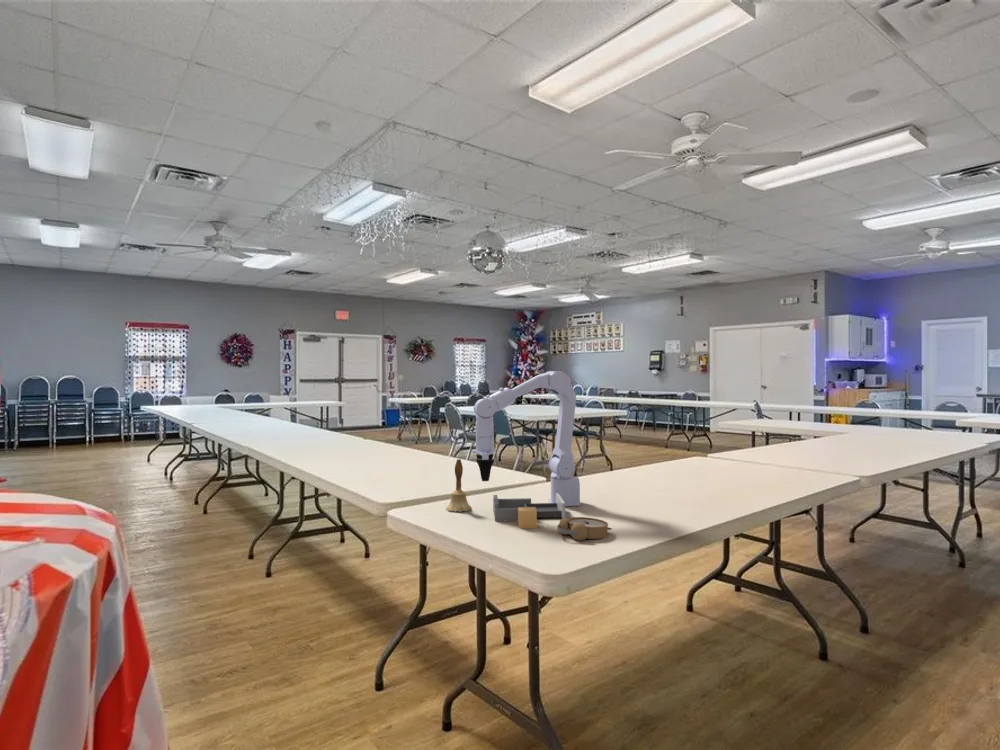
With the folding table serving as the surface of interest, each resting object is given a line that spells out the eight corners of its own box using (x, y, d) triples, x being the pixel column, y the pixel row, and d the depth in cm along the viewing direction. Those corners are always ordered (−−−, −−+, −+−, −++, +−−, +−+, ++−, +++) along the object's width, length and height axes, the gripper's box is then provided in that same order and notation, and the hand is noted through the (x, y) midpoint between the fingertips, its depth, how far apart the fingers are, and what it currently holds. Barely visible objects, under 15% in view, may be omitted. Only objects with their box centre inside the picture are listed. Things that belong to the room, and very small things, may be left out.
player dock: (530, 509, 181) (530, 493, 181) (535, 520, 168) (535, 503, 168) (493, 509, 180) (493, 494, 180) (495, 521, 167) (494, 504, 167)
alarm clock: (617, 525, 153) (575, 524, 145) (615, 543, 153) (573, 543, 145) (589, 515, 162) (548, 514, 154) (587, 533, 162) (546, 532, 154)
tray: (558, 507, 181) (558, 493, 181) (565, 518, 169) (565, 503, 168) (522, 508, 181) (522, 493, 181) (527, 519, 168) (526, 504, 168)
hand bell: (447, 505, 186) (447, 457, 186) (472, 505, 186) (472, 457, 185) (444, 512, 178) (443, 462, 177) (470, 512, 178) (470, 461, 177)
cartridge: (535, 524, 165) (535, 506, 164) (536, 528, 161) (536, 510, 160) (518, 524, 164) (517, 507, 164) (519, 528, 160) (519, 510, 160)
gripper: (472, 433, 188) (472, 474, 189) (472, 439, 174) (472, 483, 174) (493, 433, 189) (493, 473, 189) (495, 439, 174) (495, 483, 175)
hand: (485, 478), depth 182 cm, fingers open, 7 cm apart
